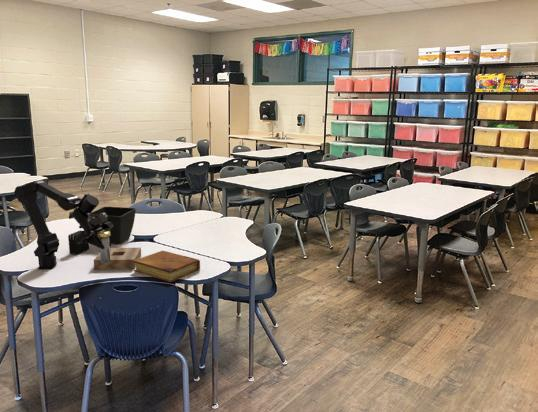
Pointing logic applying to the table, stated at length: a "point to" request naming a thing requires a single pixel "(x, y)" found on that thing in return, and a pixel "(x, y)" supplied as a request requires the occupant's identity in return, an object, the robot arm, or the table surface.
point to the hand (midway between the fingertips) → (107, 247)
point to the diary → (167, 265)
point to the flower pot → (118, 222)
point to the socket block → (119, 259)
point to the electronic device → (74, 246)
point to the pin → (105, 241)
